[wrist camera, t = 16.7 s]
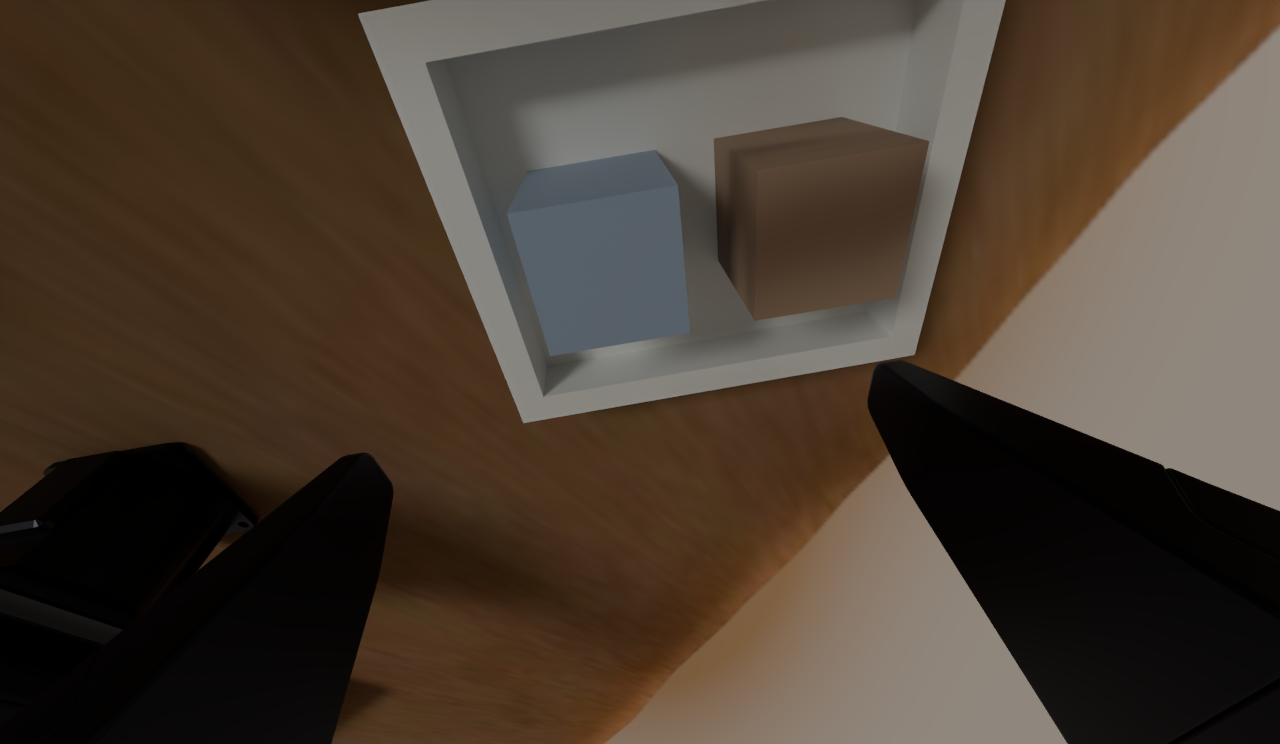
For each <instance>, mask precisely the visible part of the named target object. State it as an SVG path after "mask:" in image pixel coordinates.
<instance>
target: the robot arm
mask: <svg viewBox="0 0 1280 744" xmlns="http://www.w3.org/2000/svg"><path fill="white" fill-rule="evenodd" d="M868 409H869V412H870V414H871V416H872V418H873V421H874V423H875V425H876V427H877V429H878V431H879V433H880V435H881V437H882V439H883V441H884V443H885V445H886V447H887V449H888V452H889V454H890V456H891V458H892V460H893V462H894V464H895V466H896V468H897V470H898V472H899V474H900V476H901V478H902V480H903V482H904V484H905V486H906V487H907V489H908V490H909V492H910V494H911V496H912V497H913V499H914V501H915V502H916V504H917V506H918V507H919V509H920V510H921V512H922V513H923V515H924V517H925V518H926V520H927V521H928V523H929V525H930V526H931V527H932V529H933V531H934V532H935V534H936V535H937V537H938V539H939V540H940V542H941V543H942V545H943V547H944V548H945V550H946V552H947V553H948V555H949V556H950V558H951V559H952V561H953V562H954V564H955V566H956V567H957V569H958V571H959V572H960V574H961V575H962V577H963V578H964V580H965V582H966V583H967V585H968V586H969V588H970V590H971V591H972V593H973V594H974V596H975V597H976V599H977V601H978V602H979V604H980V605H981V607H982V609H983V610H984V612H985V613H986V615H987V617H988V618H989V620H990V621H991V623H992V624H993V626H994V628H995V629H996V631H997V632H998V634H999V636H1000V637H1001V639H1002V640H1003V642H1004V644H1005V645H1006V647H1007V648H1008V650H1009V651H1010V653H1011V655H1012V656H1013V658H1014V659H1015V661H1016V663H1017V664H1018V666H1019V667H1020V669H1021V670H1022V672H1023V674H1024V675H1025V677H1026V678H1027V680H1028V682H1029V683H1030V685H1031V686H1032V688H1033V689H1034V691H1035V693H1036V694H1037V696H1038V697H1039V699H1040V700H1041V702H1042V704H1043V705H1044V707H1045V709H1046V710H1047V712H1048V713H1049V715H1050V716H1051V718H1052V720H1053V721H1054V723H1055V724H1056V726H1057V727H1058V729H1059V731H1060V732H1061V734H1062V736H1063V737H1064V739H1065V740H1066V742H1067V743H1068V744H1280V511H1278V510H1275V509H1273V508H1270V507H1267V506H1265V505H1262V504H1260V503H1257V502H1255V501H1252V500H1250V499H1247V498H1244V497H1242V496H1239V495H1236V494H1234V493H1232V492H1229V491H1226V490H1224V489H1221V488H1219V487H1216V486H1214V485H1211V484H1208V483H1206V482H1204V481H1201V480H1199V479H1196V478H1194V477H1191V476H1189V475H1186V474H1184V473H1181V472H1179V471H1177V470H1174V469H1171V468H1168V469H1165V468H1164V466H1163V465H1161V464H1159V463H1156V462H1154V461H1151V460H1149V459H1146V458H1144V457H1142V456H1139V455H1137V454H1134V453H1132V452H1129V451H1126V450H1124V449H1122V448H1119V447H1117V446H1114V445H1112V444H1109V443H1107V442H1104V441H1102V440H1099V439H1096V438H1094V437H1092V436H1089V435H1087V434H1084V433H1082V432H1079V431H1077V430H1074V429H1072V428H1070V427H1067V426H1064V425H1062V424H1060V423H1057V422H1055V421H1052V420H1050V419H1047V418H1044V417H1042V416H1040V415H1037V414H1034V413H1032V412H1030V411H1027V410H1025V409H1022V408H1020V407H1017V406H1015V405H1012V404H1010V403H1007V402H1005V401H1002V400H1000V399H997V398H995V397H992V396H990V395H987V394H985V393H982V392H980V391H978V390H975V389H972V388H970V387H968V386H965V385H963V384H960V383H958V382H955V381H953V380H950V379H948V378H945V377H943V376H940V375H938V374H935V373H933V372H930V371H928V370H926V369H923V368H921V367H918V366H916V365H913V364H911V363H908V362H906V361H903V360H896V361H890V362H884V363H880V364H878V365H876V366H875V368H874V370H873V375H872V380H871V385H870V390H869V395H868ZM44 475H45V477H44V478H43V479H42V480H40V481H39V482H38V483H37V484H35V485H34V486H33V487H32V488H30V489H29V490H28V491H26V492H25V493H24V494H23V495H21V496H20V497H19V498H18V499H16V500H15V501H14V502H13V503H11V504H10V505H9V506H8V507H6V508H5V509H4V510H2V511H1V512H0V744H331V743H332V739H333V736H334V732H335V729H336V725H337V722H338V718H339V715H340V711H341V708H342V704H343V701H344V697H345V694H346V690H347V687H348V683H349V680H350V676H351V673H352V669H353V666H354V662H355V659H356V655H357V652H358V648H359V645H360V641H361V638H362V634H363V631H364V627H365V624H366V620H367V617H368V613H369V610H370V606H371V603H372V599H373V596H374V592H375V589H376V585H377V581H378V577H379V573H380V568H381V563H382V558H383V552H384V546H385V540H386V535H387V529H388V523H389V517H390V512H391V506H392V500H393V486H392V483H391V481H390V479H389V478H388V477H387V475H386V474H385V472H384V471H383V470H382V468H381V467H380V465H379V464H378V463H377V461H376V460H375V458H374V457H373V456H372V455H370V454H369V453H358V454H352V455H347V456H343V457H341V458H340V459H338V460H337V461H336V462H335V463H333V464H332V465H331V466H330V467H328V468H327V469H326V470H324V471H323V472H322V473H321V474H319V475H318V476H317V477H316V478H314V479H313V480H312V481H311V482H309V483H308V484H307V485H306V486H304V487H303V488H302V489H300V490H299V491H298V492H297V493H295V494H294V495H293V496H292V497H290V498H289V499H288V500H287V501H285V502H284V503H283V504H282V505H280V506H279V507H278V508H276V509H275V510H274V511H273V512H271V513H270V514H269V515H268V516H266V517H265V518H264V519H263V520H261V521H260V522H259V523H258V524H257V522H258V518H257V517H256V516H255V515H254V514H253V513H252V512H251V511H250V510H249V509H248V508H246V507H245V506H244V505H243V504H242V503H241V502H240V501H239V500H238V499H237V498H236V497H235V496H234V495H233V494H232V493H231V492H230V491H229V490H227V489H226V488H225V487H224V486H223V485H222V484H221V483H220V482H219V481H218V480H217V479H216V478H215V477H214V476H213V475H212V474H211V473H210V472H209V471H207V470H206V469H205V468H204V467H203V466H202V465H201V464H200V463H199V462H198V461H197V460H196V459H195V458H194V457H193V456H192V455H191V454H190V453H189V452H187V451H186V450H185V449H184V448H183V447H181V446H180V445H177V444H173V443H165V444H159V445H153V446H148V447H142V448H136V449H131V450H125V451H113V452H107V453H102V454H96V455H90V456H84V457H79V458H73V459H68V460H66V461H62V462H56V463H53V464H52V465H50V466H49V467H48V468H47V469H45V470H44ZM248 530H249V531H248ZM242 531H247V532H246V533H245V534H244V535H242V536H241V537H240V538H239V539H237V540H236V541H235V542H234V543H232V544H231V545H230V546H228V547H227V548H226V549H225V550H223V551H222V552H221V553H220V554H218V555H217V556H216V557H215V558H213V559H212V560H211V561H210V562H208V563H207V564H206V565H204V566H203V567H202V568H201V569H199V568H200V567H201V566H202V564H203V563H204V561H205V560H206V559H207V557H208V556H209V555H210V553H211V552H212V551H213V549H214V548H215V547H216V545H217V544H218V543H219V541H220V540H221V539H222V537H223V536H224V535H225V534H230V533H236V532H242Z"/></svg>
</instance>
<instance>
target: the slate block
mask: <svg viewBox="0 0 1280 744" xmlns="http://www.w3.org/2000/svg"><path fill="white" fill-rule="evenodd" d="M507 217H508V220H509V223H510V227H511V230H512V233H513V236H514V240H515V243H516V246H517V249H518V253H519V256H520V259H521V262H522V266H523V269H524V272H525V275H526V279H527V282H528V285H529V289H530V292H531V295H532V298H533V302H534V305H535V308H536V311H537V315H538V318H539V321H540V324H541V328H542V331H543V334H544V337H545V341H546V344H547V347H548V350H549V354H550V356H554V355H560V354H566V353H572V352H578V351H584V350H590V349H596V348H602V347H608V346H614V345H620V344H626V343H632V342H638V341H644V340H650V339H656V338H662V337H668V336H674V335H680V334H686V333H690V325H689V313H688V301H687V289H686V277H685V265H684V253H683V240H682V228H681V216H680V204H679V192H678V185H677V183H676V182H675V180H674V178H673V177H672V175H671V174H670V172H669V171H668V169H667V168H666V166H665V165H664V163H663V161H662V160H661V158H660V157H659V155H658V154H657V152H656V151H655V150H651V151H645V152H639V153H633V154H627V155H621V156H615V157H609V158H603V159H597V160H591V161H585V162H579V163H573V164H567V165H561V166H555V167H549V168H543V169H538V170H532V171H527V173H526V175H525V177H524V179H523V181H522V183H521V186H520V188H519V190H518V192H517V194H516V196H515V198H514V200H513V202H512V204H511V206H510V208H509V210H508V212H507Z"/></svg>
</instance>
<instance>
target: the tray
mask: <svg viewBox="0 0 1280 744" xmlns="http://www.w3.org/2000/svg"><path fill="white" fill-rule="evenodd" d="M1005 1H1006V0H429V1H424V2H419V3H413V4H408V5H402V6H397V7H391V8H386V9H381V10H375V11H370V12H364V13H359V14H358V16H359V18H360V21H361V23H362V26H363V28H364V31H365V33H366V36H367V38H368V41H369V43H370V45H371V48H372V50H373V53H374V55H375V58H376V60H377V63H378V65H379V68H380V70H381V73H382V75H383V78H384V80H385V82H386V85H387V87H388V90H389V92H390V95H391V97H392V100H393V102H394V105H395V107H396V110H397V112H398V115H399V117H400V119H401V122H402V124H403V127H404V129H405V132H406V134H407V137H408V139H409V142H410V144H411V147H412V149H413V152H414V154H415V156H416V159H417V161H418V164H419V166H420V169H421V171H422V174H423V176H424V179H425V181H426V184H427V186H428V189H429V191H430V193H431V196H432V198H433V201H434V203H435V206H436V208H437V211H438V213H439V216H440V218H441V221H442V223H443V226H444V228H445V231H446V233H447V235H448V238H449V240H450V243H451V245H452V248H453V250H454V253H455V255H456V258H457V260H458V263H459V265H460V268H461V270H462V272H463V275H464V277H465V280H466V282H467V285H468V287H469V290H470V292H471V295H472V297H473V300H474V302H475V305H476V307H477V309H478V312H479V314H480V317H481V319H482V322H483V324H484V327H485V329H486V332H487V334H488V337H489V339H490V342H491V344H492V346H493V349H494V351H495V354H496V356H497V359H498V361H499V364H500V366H501V369H502V371H503V374H504V376H505V379H506V381H507V383H508V386H509V388H510V391H511V393H512V396H513V398H514V401H515V403H516V406H517V408H518V411H519V413H520V416H521V418H522V420H523V423H527V422H532V421H538V420H544V419H550V418H555V417H561V416H567V415H573V414H578V413H584V412H590V411H596V410H601V409H607V408H613V407H619V406H624V405H630V404H636V403H642V402H647V401H653V400H659V399H665V398H670V397H676V396H682V395H688V394H693V393H699V392H705V391H711V390H716V389H722V388H728V387H734V386H739V385H745V384H751V383H757V382H762V381H768V380H774V379H780V378H785V377H791V376H797V375H803V374H808V373H814V372H820V371H826V370H831V369H837V368H843V367H849V366H854V365H860V364H866V363H872V362H877V361H883V360H889V359H895V358H900V357H906V356H912V355H915V352H916V348H917V344H918V340H919V336H920V332H921V328H922V325H923V321H924V317H925V313H926V309H927V305H928V301H929V297H930V293H931V289H932V286H933V282H934V278H935V274H936V270H937V266H938V262H939V258H940V254H941V251H942V247H943V243H944V239H945V235H946V231H947V227H948V223H949V219H950V215H951V212H952V208H953V204H954V200H955V196H956V192H957V188H958V184H959V180H960V176H961V173H962V169H963V165H964V161H965V157H966V153H967V149H968V145H969V141H970V138H971V134H972V130H973V126H974V122H975V118H976V114H977V110H978V106H979V102H980V99H981V95H982V91H983V87H984V83H985V79H986V75H987V71H988V67H989V63H990V60H991V56H992V52H993V48H994V44H995V40H996V36H997V32H998V28H999V25H1000V21H1001V17H1002V13H1003V9H1004V5H1005ZM838 117H844V118H848V119H851V120H855V121H858V122H862V123H866V124H869V125H873V126H876V127H880V128H884V129H887V130H891V131H895V132H898V133H902V134H905V135H909V136H913V137H916V138H920V139H923V140H927V141H929V146H928V151H927V155H926V160H925V164H924V169H923V174H922V178H921V183H920V187H919V192H918V197H917V201H916V206H915V210H914V215H913V220H912V224H911V229H910V233H909V238H908V243H907V247H906V252H905V256H904V261H903V266H902V270H901V275H900V279H899V284H898V289H897V293H896V297H895V298H889V299H883V300H877V301H871V302H865V303H859V304H853V305H847V306H841V307H835V308H829V309H823V310H817V311H811V312H805V313H799V314H793V315H787V316H781V317H775V318H769V319H763V320H757V321H755V320H754V319H753V317H752V315H751V314H750V312H749V311H748V309H747V307H746V306H745V304H744V302H743V301H742V299H741V297H740V296H739V294H738V292H737V291H736V289H735V288H734V286H733V284H732V283H731V281H730V279H729V278H728V276H727V274H726V273H725V271H724V269H723V268H722V266H721V264H720V263H719V261H718V243H717V216H716V189H715V162H714V138H720V137H726V136H732V135H738V134H744V133H750V132H755V131H761V130H767V129H773V128H779V127H785V126H791V125H797V124H803V123H809V122H814V121H820V120H826V119H832V118H838ZM651 150H655V151H656V152H657V154H658V155H659V157H660V158H661V160H662V161H663V163H664V165H665V166H666V168H667V169H668V171H669V172H670V174H671V175H672V177H673V178H674V180H675V182H676V183H677V185H678V192H679V204H680V216H681V228H682V240H683V253H684V265H685V277H686V289H687V301H688V313H689V325H690V333H686V334H680V335H674V336H668V337H662V338H656V339H650V340H644V341H638V342H632V343H626V344H620V345H614V346H608V347H602V348H596V349H590V350H584V351H578V352H572V353H566V354H560V355H554V356H550V354H549V350H548V347H547V344H546V341H545V337H544V334H543V331H542V328H541V324H540V321H539V318H538V315H537V311H536V308H535V305H534V302H533V298H532V295H531V292H530V289H529V285H528V282H527V279H526V275H525V272H524V269H523V266H522V262H521V259H520V256H519V253H518V249H517V246H516V243H515V240H514V236H513V233H512V230H511V227H510V223H509V220H508V217H507V212H508V210H509V208H510V206H511V204H512V202H513V200H514V198H515V196H516V194H517V192H518V190H519V188H520V186H521V183H522V181H523V179H524V177H525V175H526V173H527V171H532V170H538V169H543V168H549V167H555V166H561V165H567V164H573V163H579V162H585V161H591V160H597V159H603V158H609V157H615V156H621V155H627V154H633V153H639V152H645V151H651Z"/></svg>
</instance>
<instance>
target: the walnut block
mask: <svg viewBox="0 0 1280 744" xmlns="http://www.w3.org/2000/svg"><path fill="white" fill-rule="evenodd" d="M928 146H929V141H927V140H923V139H920V138H916V137H913V136H909V135H905V134H902V133H898V132H895V131H891V130H887V129H884V128H880V127H876V126H873V125H869V124H866V123H862V122H858V121H855V120H851V119H848V118H844V117H838V118H832V119H826V120H820V121H814V122H809V123H803V124H797V125H791V126H785V127H779V128H773V129H767V130H761V131H755V132H750V133H744V134H738V135H732V136H726V137H720V138H714V162H715V189H716V216H717V243H718V261H719V263H720V264H721V266H722V268H723V269H724V271H725V273H726V274H727V276H728V278H729V279H730V281H731V283H732V284H733V286H734V288H735V289H736V291H737V292H738V294H739V296H740V297H741V299H742V301H743V302H744V304H745V306H746V307H747V309H748V311H749V312H750V314H751V315H752V317H753V319H754V320H755V321H757V320H763V319H769V318H775V317H781V316H787V315H793V314H799V313H805V312H811V311H817V310H823V309H829V308H835V307H841V306H847V305H853V304H859V303H865V302H871V301H877V300H883V299H889V298H895V297H896V293H897V289H898V284H899V279H900V275H901V270H902V266H903V261H904V256H905V252H906V247H907V243H908V238H909V233H910V229H911V224H912V220H913V215H914V210H915V206H916V201H917V197H918V192H919V187H920V183H921V178H922V174H923V169H924V164H925V160H926V155H927V151H928Z"/></svg>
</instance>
